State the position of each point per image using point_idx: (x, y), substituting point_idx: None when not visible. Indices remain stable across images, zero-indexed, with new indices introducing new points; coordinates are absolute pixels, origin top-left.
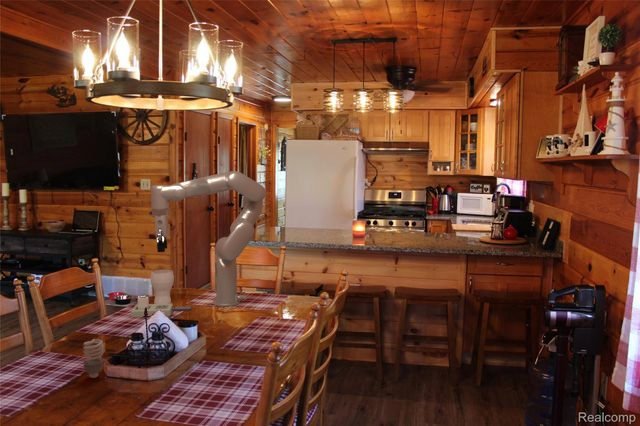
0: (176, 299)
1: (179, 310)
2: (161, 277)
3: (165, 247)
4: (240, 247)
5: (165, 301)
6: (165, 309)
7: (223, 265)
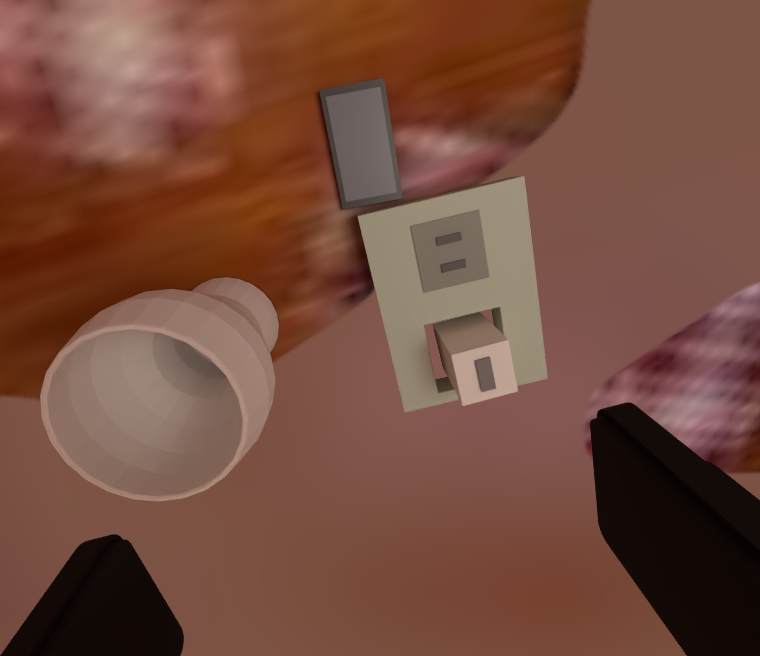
0: (135, 270)
1: (395, 158)
2: (256, 373)
3: (125, 574)
4: None
5: (259, 298)
6: (502, 211)
7: None
